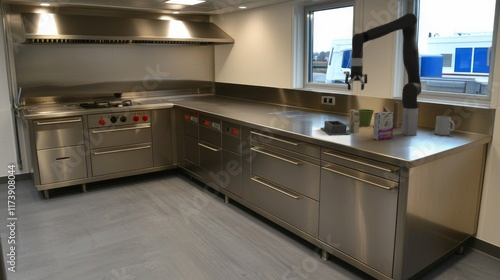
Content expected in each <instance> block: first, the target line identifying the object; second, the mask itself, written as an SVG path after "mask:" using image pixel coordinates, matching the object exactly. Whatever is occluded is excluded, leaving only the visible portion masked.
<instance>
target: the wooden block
mask: <svg viewBox="0 0 500 280" xmlns="http://www.w3.org/2000/svg"><path fill="white" fill-rule="evenodd" d="M392 111H393V112H394V113H393V129H394V128H395V129H397V128H399V126H400V122H399V116H400V115H399V114H400V113H399V111H400V101H394V102H393V110H392ZM382 112H391V111H390V109H389V108H388V107H387V106H386V105H385V106H383V110H382Z"/></svg>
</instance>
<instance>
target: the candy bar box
mask: <svg viewBox="0 0 500 280" xmlns="http://www.w3.org/2000/svg"><path fill="white" fill-rule="evenodd" d="M393 113H394V112H392V111H390V112H383V111H380V112H373V114H374V116H373V117H374V118H373V137H372V139H373V140H375V139H376V140H375V141H384V139H385V140H391V139H393V131H394V130H393V129H394V127H393Z"/></svg>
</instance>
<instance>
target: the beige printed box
mask: <svg viewBox="0 0 500 280" xmlns="http://www.w3.org/2000/svg"><path fill="white" fill-rule="evenodd" d="M359 114H360V112H359V111H357V109H349V124H348V125H349V129H348V130H349V131H351V133H354V134H359V132H360V131H359V130H360V129H359V128H360V123H359Z"/></svg>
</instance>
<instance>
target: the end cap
mask: <svg viewBox="0 0 500 280" xmlns="http://www.w3.org/2000/svg"><path fill="white" fill-rule="evenodd" d="M320 130H321V131H323V132H324V133H325V134H327V135H328V136H351V134H352V132H349V131H347V130H348V129H347V124H345V123H344V122H342V121H340V120H325V121H324V126H323V127H320Z"/></svg>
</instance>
